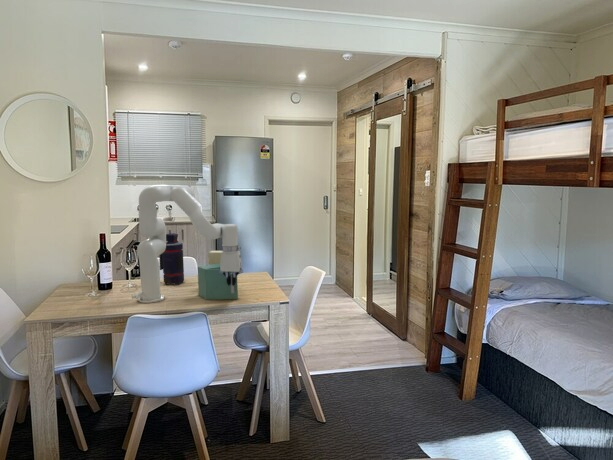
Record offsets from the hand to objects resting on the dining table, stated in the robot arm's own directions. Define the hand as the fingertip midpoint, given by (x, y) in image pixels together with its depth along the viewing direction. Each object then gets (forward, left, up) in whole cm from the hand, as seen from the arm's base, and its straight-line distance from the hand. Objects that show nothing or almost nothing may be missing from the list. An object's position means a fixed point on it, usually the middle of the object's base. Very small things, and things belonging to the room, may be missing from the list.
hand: (231, 284), depth 224 cm
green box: (-3, +6, -9) cm, 11 cm away
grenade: (-9, +61, -9) cm, 62 cm away
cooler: (0, +19, -9) cm, 21 cm away
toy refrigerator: (+8, +34, -9) cm, 36 cm away
